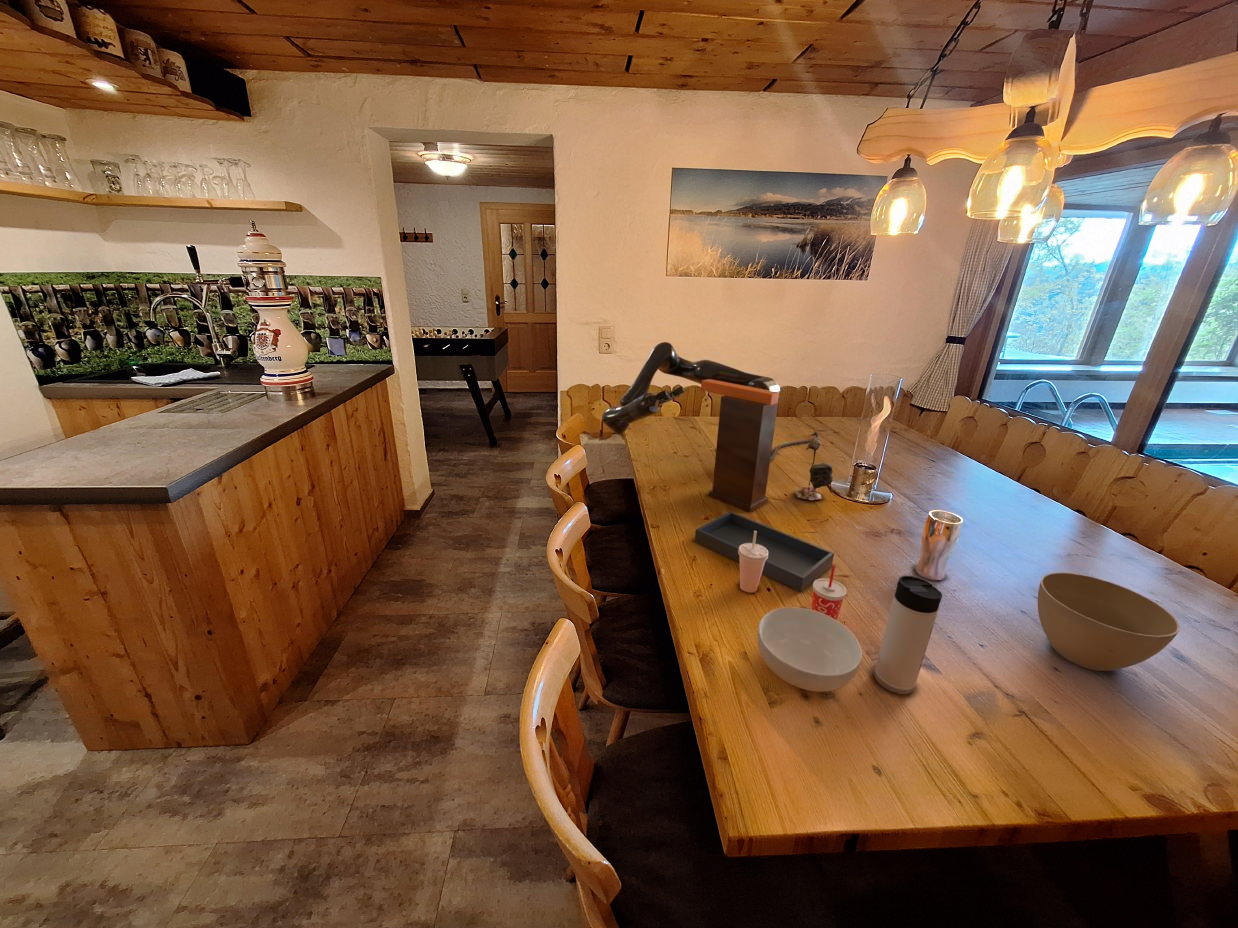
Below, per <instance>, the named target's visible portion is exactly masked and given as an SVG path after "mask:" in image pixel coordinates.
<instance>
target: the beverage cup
mask: <svg viewBox="0 0 1238 928" xmlns="http://www.w3.org/2000/svg"><path fill="white" fill-rule="evenodd" d="M835 570H836V564H832V566H831V572H830V577H829V578H817V579H815V580H814V581H813V582H812V585H811V586H812V600H811V608H810V609H811V610H815V611H818V612H821V613H823V614H826V615H828V616H830V617H832V618H833V619H835V620H837V621H838V619H839V615H840V612H841V608H842V605H843V601H844V599H845V597H846V596H847V593H848V592H847V588H846V587H845V586H844V585H843V584H842V583H841V582H839V581H836V580H834V574H835Z"/></svg>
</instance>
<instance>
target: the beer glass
mask: <svg viewBox="0 0 1238 928" xmlns="http://www.w3.org/2000/svg"><path fill="white" fill-rule="evenodd" d="M963 523H964V521H963V518H962V517H960V516H959V515H957V514H956V513H953V512H949V511H946V510H940V509H939V510H938V509H937V510H935V509H934V510H931V511H929V512H928V515H927V518H926V520H925V523H924V526H923V530H922V534H921V549H920V556H919V560H918V561H917V563H916V565H915V567H914V571H915V573H917V574H918V575H919V576H921V577H922V578H925V579H928V580H931V581H941V580H944V579H945V577H946V566H947V563H948V561H949V559H950V558H951V555H952V554H953V552H954V550H955V548H956V546H957V545H958V542H959V538H960V535H961V532H962V527H963Z"/></svg>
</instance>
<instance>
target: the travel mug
mask: <svg viewBox="0 0 1238 928" xmlns="http://www.w3.org/2000/svg"><path fill="white" fill-rule="evenodd" d="M942 598H943V594H942V592H941V591H940V590H939V589H938V588H936V587H935V586H933V584H932V583H931V582H929V581H927V580H925V579H922V578H920V577H917V576H912V575H902V576H900V577H899V578H898V581H897V584H896V588H895V592H894V595H893V600H892V601H891V602H892V603H891V607H890V610H889V614H888V617H887V622H886V624H885V629H884V632H883V637H882V641H881V645H880V647H879V652H878V655H877V660H876V664H875V667H874V670H873V677H874V678H875V680H876V682H877V683H878V684H879V685H880V686H881V687H882V688H883V689H885V690H887V691H889V692H891V693H894V694H898V695H909V694H912V693H913V692H914V691H915V688H916V685H917V682H918V678H919V675H920V671H921V668H922V666H923V663H924V658H925V655H926V652H927V649H928V645H929V642H930V639H931V636H932V632H933V630H934V626H935V622H936V619H937V616H938V612H939V610H940V604H941V602H942Z"/></svg>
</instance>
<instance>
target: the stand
mask: <svg viewBox="0 0 1238 928" xmlns="http://www.w3.org/2000/svg"><path fill="white" fill-rule="evenodd" d="M778 405H779V402H778V403H776V404H773V405H767V404H763V403H758V402H753V401H749V400H744V399H739V398H735V397H730V396H725V395H722V396H720V405H719V406H720V407H719V414H718V415H719V416H718V427H717V437H716V449H715V460H714V467H713V468H714V469H713V478H712V479H713V481H712V489H711V490H709V491H708V497H710V498H713V499H716V500H718V501H721V502H724V503H726V504H729V505H731V506H734V507H736V508H738V509H742V510H744V511H746V512H749V513H750V512H753V511H754V510H756V509H758V508H760V507H761V506H763V505H765V504H767V503H768V501H769V496H766V493H767V486H768V478H769V473H770V471H769V470H770V464H771V460H770V458H771V455H772V449H773V442H774V435H775V428H776V420H777V414H778V408H779V407H778Z"/></svg>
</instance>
